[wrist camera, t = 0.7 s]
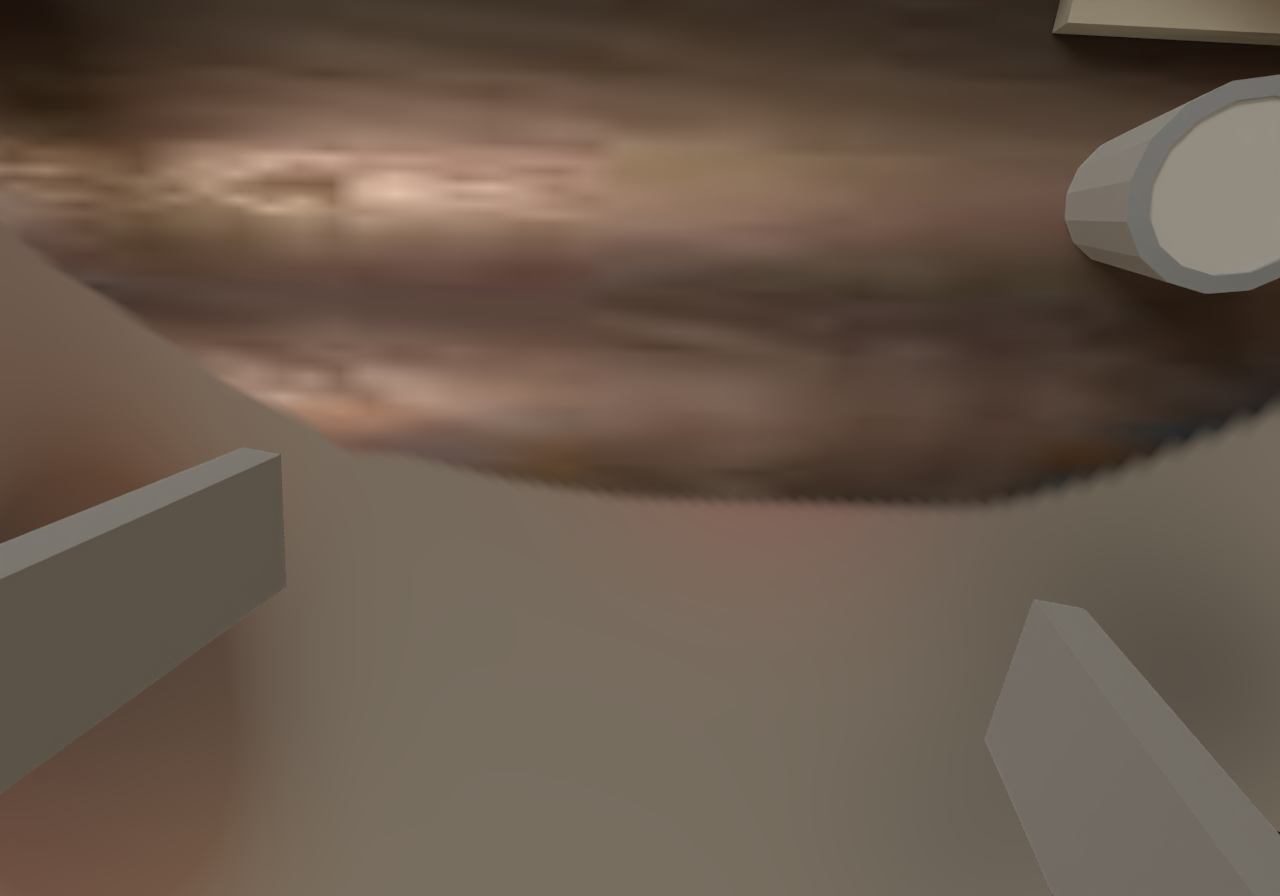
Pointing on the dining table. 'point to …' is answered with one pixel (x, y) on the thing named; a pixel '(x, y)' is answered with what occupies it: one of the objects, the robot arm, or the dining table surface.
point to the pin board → (1173, 19)
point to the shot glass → (1189, 193)
